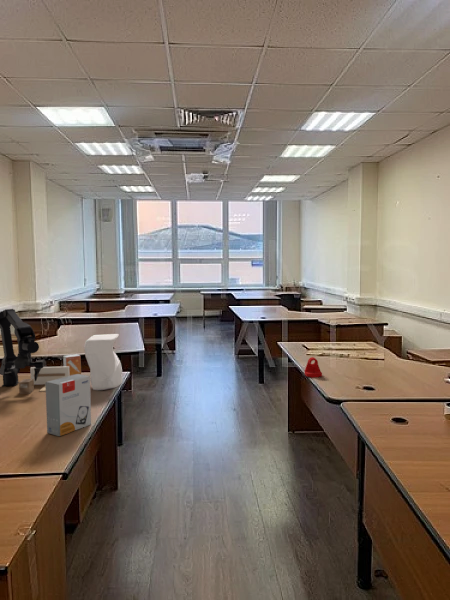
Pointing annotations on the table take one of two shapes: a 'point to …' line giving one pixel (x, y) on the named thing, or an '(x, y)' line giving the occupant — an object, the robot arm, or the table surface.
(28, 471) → the table surface
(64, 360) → the small box
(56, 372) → the white slotted box
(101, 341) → the white curved block
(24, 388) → the cabinet block
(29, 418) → the table surface
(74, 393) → the hard drive box
